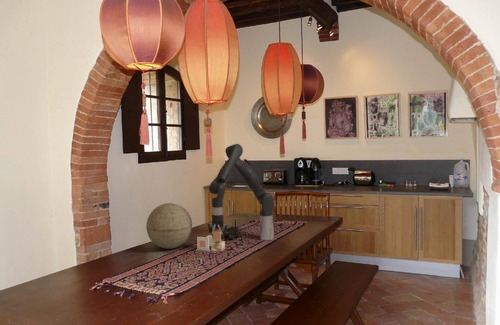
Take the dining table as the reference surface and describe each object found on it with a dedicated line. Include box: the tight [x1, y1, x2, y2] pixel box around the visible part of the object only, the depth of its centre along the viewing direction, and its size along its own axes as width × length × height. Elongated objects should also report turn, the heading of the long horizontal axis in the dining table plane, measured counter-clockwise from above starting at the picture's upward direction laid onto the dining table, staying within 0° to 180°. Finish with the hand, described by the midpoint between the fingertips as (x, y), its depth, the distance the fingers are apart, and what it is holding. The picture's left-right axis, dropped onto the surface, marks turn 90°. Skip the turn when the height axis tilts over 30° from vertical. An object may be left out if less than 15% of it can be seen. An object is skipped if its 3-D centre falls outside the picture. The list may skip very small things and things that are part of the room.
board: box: [195, 236, 212, 253], centre depth 262 cm, size 9×3×9 cm, turn 71°
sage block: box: [206, 234, 214, 247], centre depth 278 cm, size 5×5×6 cm
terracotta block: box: [212, 229, 223, 241], centre depth 265 cm, size 5×5×6 cm
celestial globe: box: [145, 202, 193, 250], centre depth 271 cm, size 30×30×30 cm
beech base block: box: [210, 240, 226, 252], centre depth 265 cm, size 7×7×5 cm
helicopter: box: [223, 218, 247, 240], centre depth 303 cm, size 23×34×15 cm
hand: (218, 239), depth 265 cm, fingers closed on terracotta block, 5 cm apart
